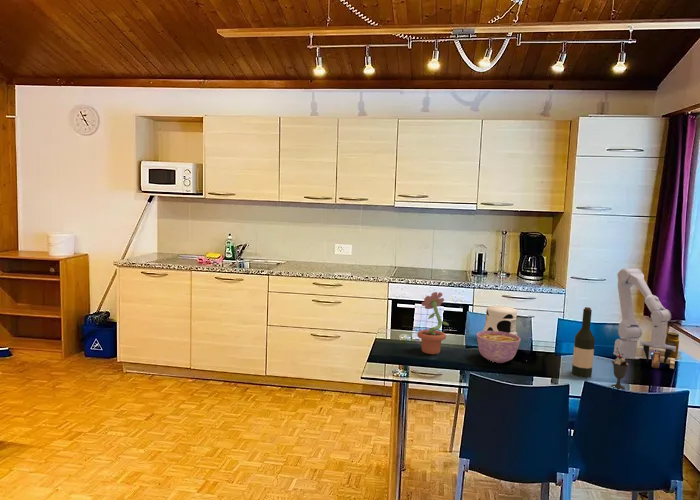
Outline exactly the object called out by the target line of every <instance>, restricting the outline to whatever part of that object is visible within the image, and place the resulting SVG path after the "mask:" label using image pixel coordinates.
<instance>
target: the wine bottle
mask: <svg viewBox="0 0 700 500" xmlns="http://www.w3.org/2000/svg"><path fill="white" fill-rule="evenodd" d="M582 310H583V311H582V321H581V328H580V329H579V330H578V332H577V333H576V334H575V335H574V341H573V342H574V346H573V355H572V364H571V365H572V367H571V375H573V376H576V377H579V378H585V379H588V378H592V374H593V373H592V372H593V365H594V354H595V343H596V339H595V337H594V335H593V333H592V331H591V322H592V307H587V306H586V307H584V308H583V309H582Z"/></svg>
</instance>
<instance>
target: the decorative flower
mask: <svg viewBox="0 0 700 500" xmlns="http://www.w3.org/2000/svg"><path fill="white" fill-rule="evenodd" d="M443 295H444V294H443V293H442V292H437V291H435V292H432V293H430V295H426V296H425V298H424V299H423V301H422V302H421V306H422V307H424V308H425V309H426V310H431V309H433V311H434V312H433V313H430V315H429V316H428V317H427V318H428V319H432V318H434V316H435V317H436V319H437V325H436V326H432V327H430V328H429V329H423V330H419V331H417V334H416V335H417V337H418V338H420V341H421V351H422V352H423V353H424V354H427V355H428V354H429V355H438V354H439V353H441V347H442V341H444V340H446V339H447V334H446V333H445V332H443V331H442V330H441V331H440V330H439V329H441V327H442V325H444V326H449V325H450V324H449V323H448V322H446V321H443V320H442V318H441V315H440V313H439V310H438V307H440V306H441V305H442V304H443V302H444V301H445V299H444V297H443ZM441 297H442V298H441Z"/></svg>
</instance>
